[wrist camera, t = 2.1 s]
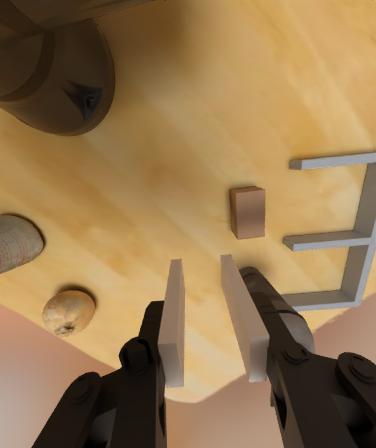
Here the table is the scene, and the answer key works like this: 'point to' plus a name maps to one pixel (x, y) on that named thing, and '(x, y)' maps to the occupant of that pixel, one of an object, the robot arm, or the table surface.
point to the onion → (68, 312)
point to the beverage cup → (279, 307)
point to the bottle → (17, 242)
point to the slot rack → (341, 240)
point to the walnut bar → (247, 212)
